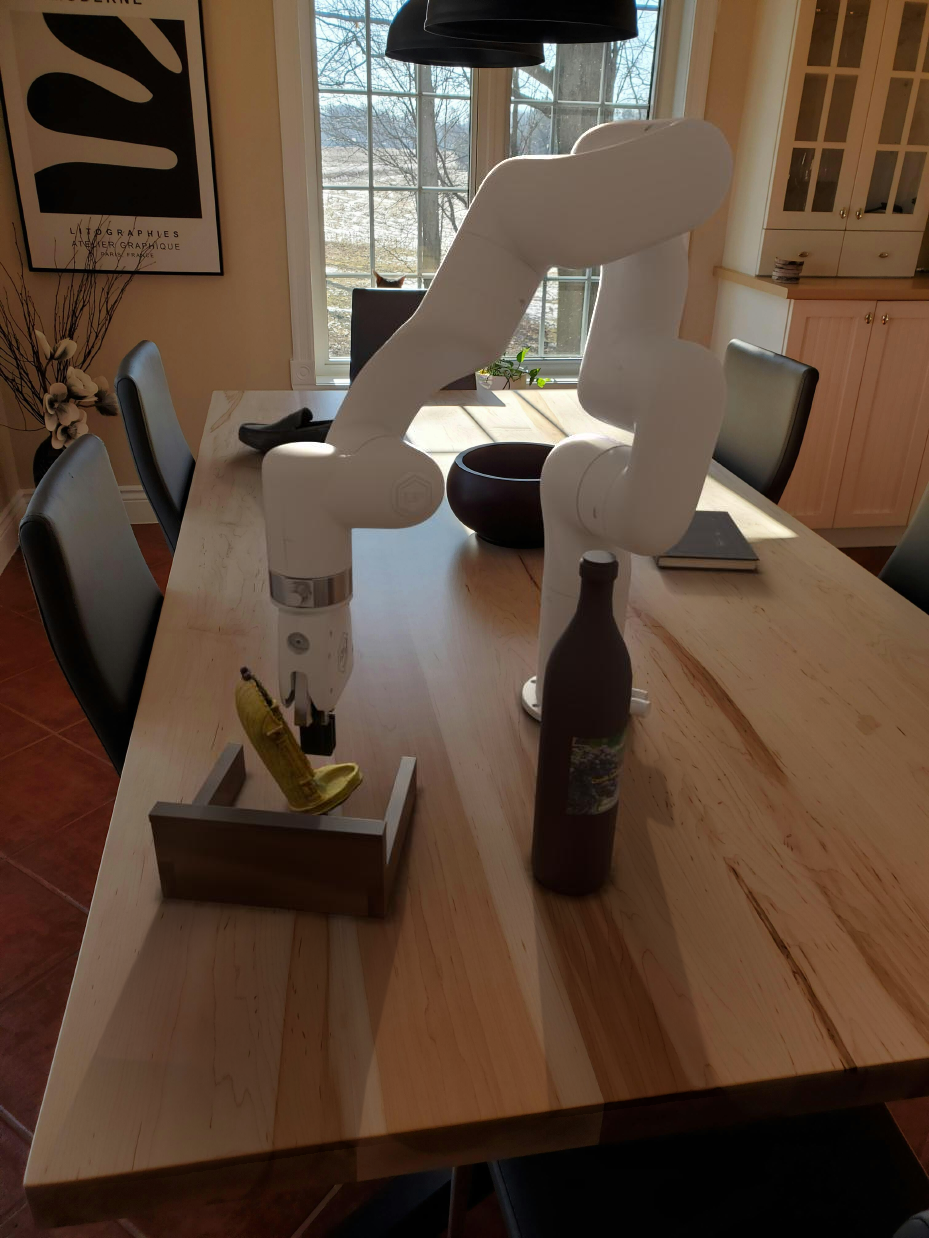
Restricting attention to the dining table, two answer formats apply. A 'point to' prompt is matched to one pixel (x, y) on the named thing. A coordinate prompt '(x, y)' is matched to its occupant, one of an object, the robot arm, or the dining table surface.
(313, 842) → the dark wooden open frame
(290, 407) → the dining table surface
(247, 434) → the loafer
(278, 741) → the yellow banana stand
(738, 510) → the dining table surface
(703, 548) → the hardcover book
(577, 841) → the wine bottle
